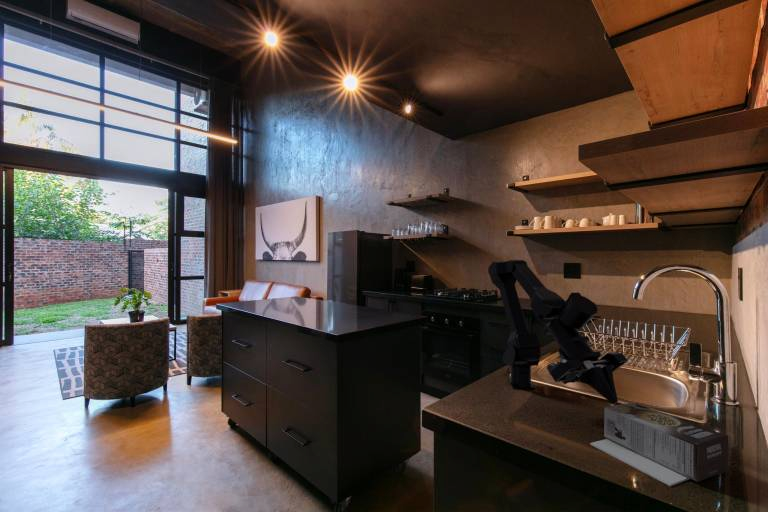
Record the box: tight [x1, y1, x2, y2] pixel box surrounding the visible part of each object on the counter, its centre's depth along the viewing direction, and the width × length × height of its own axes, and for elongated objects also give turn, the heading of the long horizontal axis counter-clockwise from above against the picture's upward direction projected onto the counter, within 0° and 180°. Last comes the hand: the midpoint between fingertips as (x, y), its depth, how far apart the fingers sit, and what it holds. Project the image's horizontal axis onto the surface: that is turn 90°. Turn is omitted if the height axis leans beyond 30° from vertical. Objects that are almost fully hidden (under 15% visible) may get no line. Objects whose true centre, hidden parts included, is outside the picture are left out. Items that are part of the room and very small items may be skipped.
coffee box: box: [603, 401, 730, 483], centre depth 66 cm, size 9×6×16 cm
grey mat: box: [589, 438, 691, 487], centre depth 66 cm, size 14×14×1 cm
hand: (615, 402), depth 74 cm, fingers closed
